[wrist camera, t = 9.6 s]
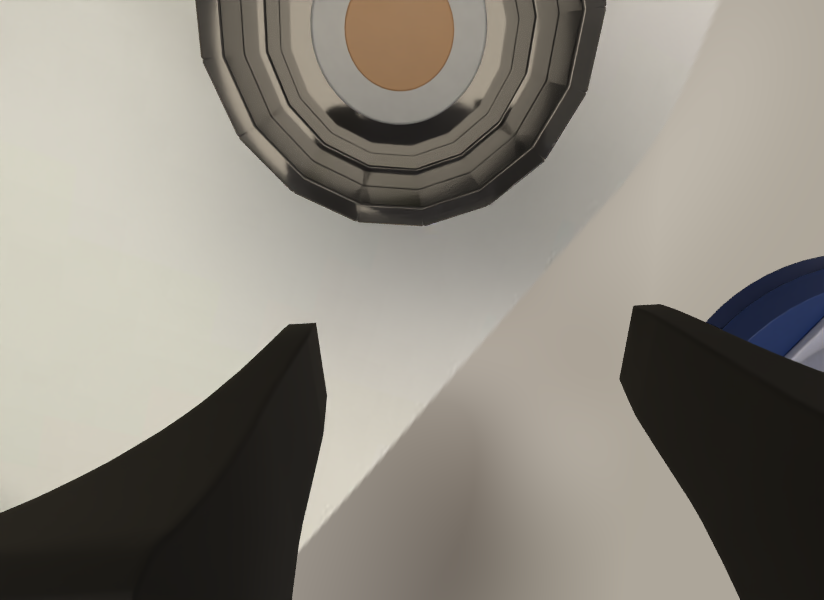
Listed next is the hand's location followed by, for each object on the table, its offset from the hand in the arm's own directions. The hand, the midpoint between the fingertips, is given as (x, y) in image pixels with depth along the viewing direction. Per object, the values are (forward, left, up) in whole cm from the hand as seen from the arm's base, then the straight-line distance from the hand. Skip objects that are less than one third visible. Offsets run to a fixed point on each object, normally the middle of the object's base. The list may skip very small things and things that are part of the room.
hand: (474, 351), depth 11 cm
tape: (+4, -5, -9) cm, 11 cm away
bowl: (+4, -5, -9) cm, 11 cm away
